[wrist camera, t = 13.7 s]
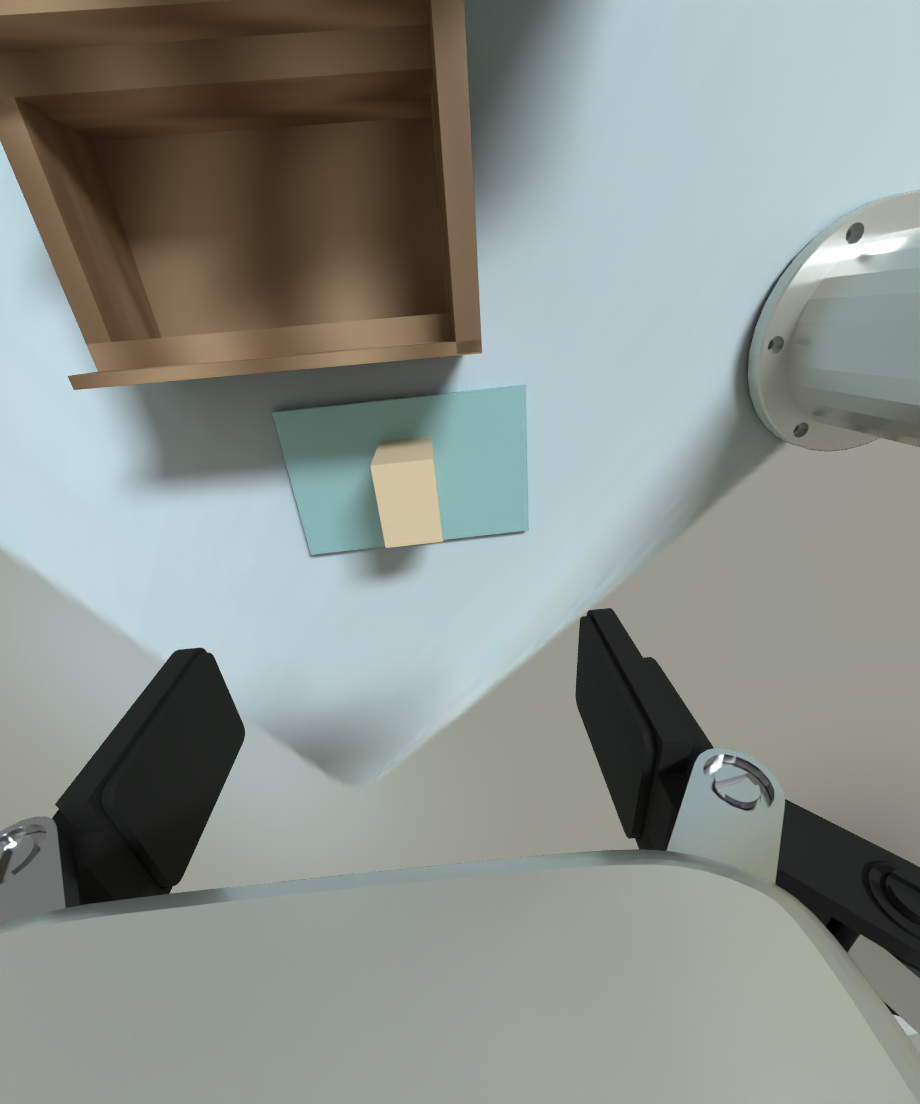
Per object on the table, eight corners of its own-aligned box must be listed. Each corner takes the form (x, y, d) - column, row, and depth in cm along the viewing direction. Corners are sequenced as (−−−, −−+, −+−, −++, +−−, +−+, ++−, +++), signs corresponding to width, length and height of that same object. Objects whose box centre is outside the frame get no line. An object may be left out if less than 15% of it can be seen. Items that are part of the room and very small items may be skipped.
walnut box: (449, 75, 19) (462, -40, 13) (466, 346, 24) (481, 353, 18) (67, 102, 18) (-106, -5, 12) (164, 372, 23) (74, 389, 17)
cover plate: (522, 384, 25) (547, 398, 20) (525, 523, 29) (547, 566, 24) (276, 409, 25) (239, 431, 20) (314, 547, 29) (290, 595, 24)
